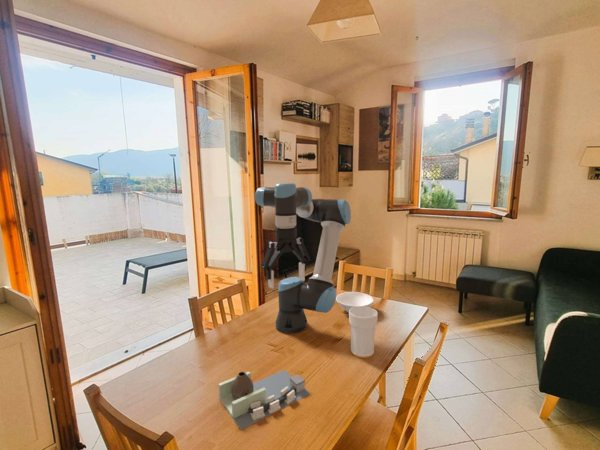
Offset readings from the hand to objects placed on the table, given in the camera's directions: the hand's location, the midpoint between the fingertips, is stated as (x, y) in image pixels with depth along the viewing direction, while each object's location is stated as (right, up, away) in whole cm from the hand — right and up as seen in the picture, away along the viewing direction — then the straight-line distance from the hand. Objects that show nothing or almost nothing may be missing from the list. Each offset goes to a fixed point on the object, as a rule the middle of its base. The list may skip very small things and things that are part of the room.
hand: (287, 283), depth 118 cm
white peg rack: (-2, -34, -17) cm, 38 cm away
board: (-6, -35, -14) cm, 38 cm away
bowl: (+33, -24, +51) cm, 65 cm away
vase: (-13, -34, -17) cm, 40 cm away
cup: (+30, -30, +12) cm, 44 cm away
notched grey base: (-3, -34, -17) cm, 38 cm away
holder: (-13, -34, -17) cm, 40 cm away
